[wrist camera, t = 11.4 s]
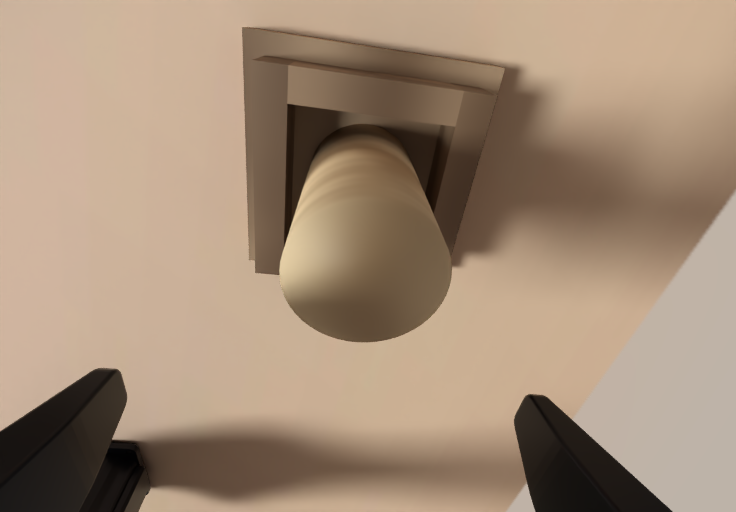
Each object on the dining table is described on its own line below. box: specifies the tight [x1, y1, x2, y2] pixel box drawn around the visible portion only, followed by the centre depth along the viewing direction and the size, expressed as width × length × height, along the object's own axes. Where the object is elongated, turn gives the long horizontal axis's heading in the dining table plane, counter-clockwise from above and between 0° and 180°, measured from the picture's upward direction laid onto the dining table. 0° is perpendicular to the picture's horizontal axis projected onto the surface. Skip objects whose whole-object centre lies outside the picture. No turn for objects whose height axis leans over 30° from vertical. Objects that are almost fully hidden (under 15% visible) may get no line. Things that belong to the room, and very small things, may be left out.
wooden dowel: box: [279, 124, 452, 342], centre depth 13 cm, size 4×4×8 cm
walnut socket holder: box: [242, 27, 505, 275], centre depth 16 cm, size 10×10×3 cm
